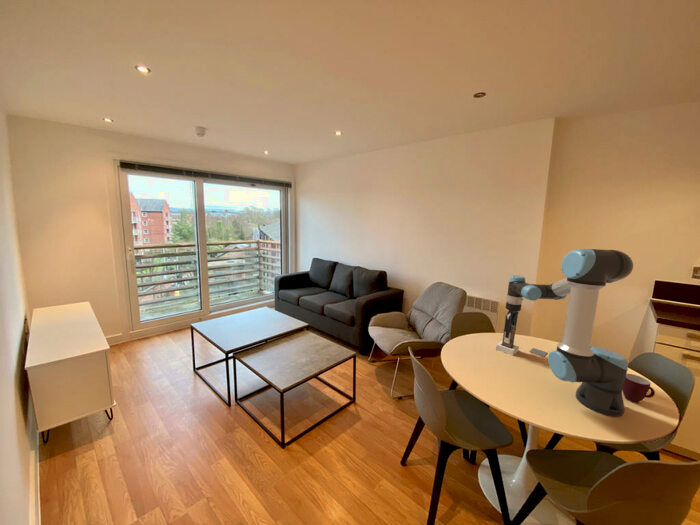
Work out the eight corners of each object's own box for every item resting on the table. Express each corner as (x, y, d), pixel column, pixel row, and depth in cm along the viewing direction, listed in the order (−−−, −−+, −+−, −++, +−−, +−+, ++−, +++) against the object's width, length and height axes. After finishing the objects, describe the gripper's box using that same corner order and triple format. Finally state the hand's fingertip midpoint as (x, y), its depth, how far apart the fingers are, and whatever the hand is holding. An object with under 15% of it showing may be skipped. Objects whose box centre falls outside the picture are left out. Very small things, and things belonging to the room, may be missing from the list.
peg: (510, 350, 155) (513, 328, 153) (501, 347, 159) (504, 325, 156) (512, 348, 158) (516, 326, 156) (504, 345, 162) (507, 323, 159)
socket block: (512, 355, 152) (513, 350, 152) (495, 349, 159) (496, 344, 159) (518, 350, 158) (519, 346, 158) (501, 345, 165) (502, 340, 164)
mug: (641, 396, 120) (647, 375, 118) (658, 409, 112) (663, 387, 111) (614, 392, 122) (618, 372, 120) (628, 404, 114) (633, 383, 113)
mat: (543, 356, 152) (543, 356, 152) (529, 351, 158) (529, 351, 158) (547, 353, 157) (547, 352, 157) (533, 348, 162) (533, 347, 162)
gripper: (515, 307, 145) (509, 348, 149) (526, 301, 157) (520, 339, 161) (500, 303, 151) (495, 343, 155) (512, 298, 162) (507, 335, 166)
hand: (508, 341), depth 158 cm, fingers closed on peg, 4 cm apart
